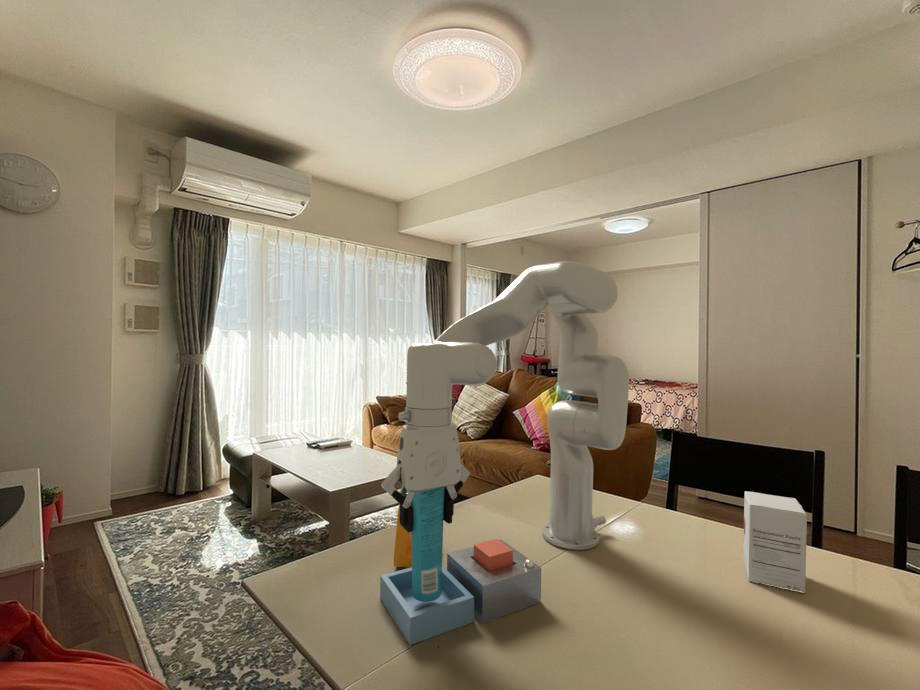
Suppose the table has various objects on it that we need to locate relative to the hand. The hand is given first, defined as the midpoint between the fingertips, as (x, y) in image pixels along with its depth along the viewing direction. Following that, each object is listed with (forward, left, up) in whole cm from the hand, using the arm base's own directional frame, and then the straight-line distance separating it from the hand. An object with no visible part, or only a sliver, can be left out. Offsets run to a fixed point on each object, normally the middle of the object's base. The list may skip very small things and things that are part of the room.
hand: (427, 523), depth 71 cm
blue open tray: (0, 0, -14) cm, 14 cm away
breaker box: (-12, +2, -14) cm, 19 cm away
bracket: (-6, -16, -15) cm, 23 cm away
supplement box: (-64, +23, -15) cm, 69 cm away
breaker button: (-12, +2, -13) cm, 18 cm away
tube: (0, 0, -12) cm, 12 cm away
